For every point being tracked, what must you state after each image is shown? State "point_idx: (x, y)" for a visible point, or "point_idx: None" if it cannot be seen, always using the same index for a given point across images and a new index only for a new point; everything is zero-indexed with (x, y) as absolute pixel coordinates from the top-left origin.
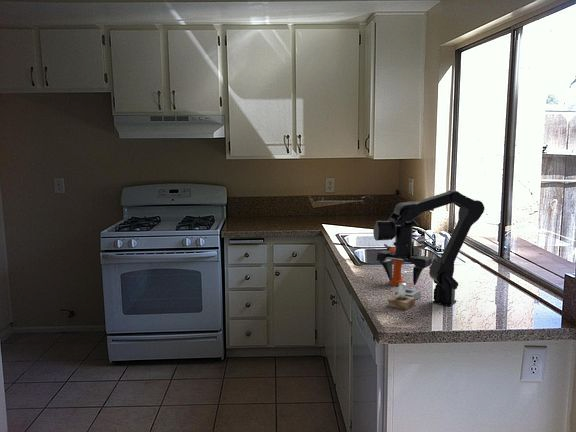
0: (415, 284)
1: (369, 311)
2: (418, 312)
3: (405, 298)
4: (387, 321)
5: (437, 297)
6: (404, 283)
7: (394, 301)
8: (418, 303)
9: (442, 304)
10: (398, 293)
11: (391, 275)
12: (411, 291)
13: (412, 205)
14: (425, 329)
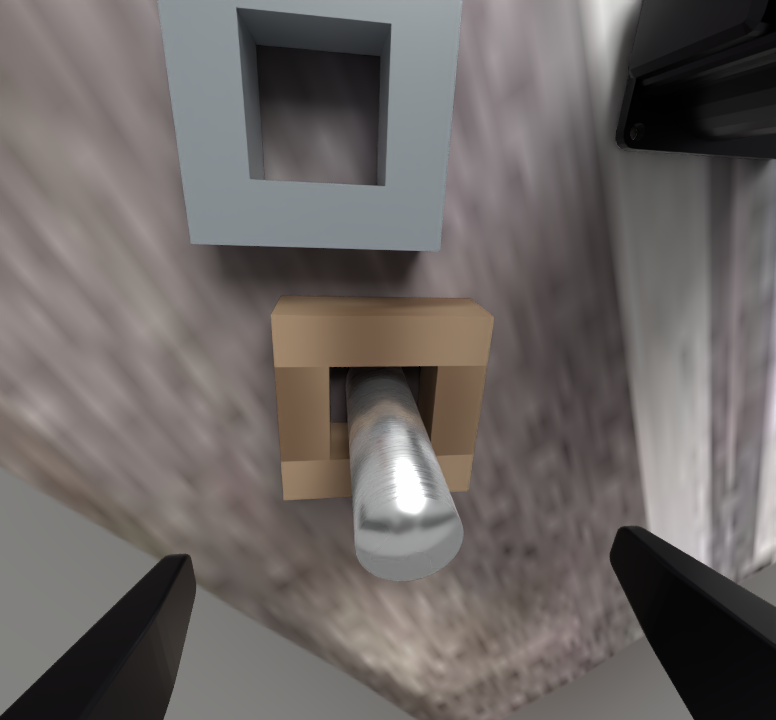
0: (631, 536)
1: (250, 611)
2: (544, 446)
3: (398, 360)
4: (426, 654)
5: (708, 103)
6: (437, 518)
7: (348, 488)
8: (487, 244)
9: (712, 155)
10: (249, 245)
11: (154, 668)
12: (343, 24)
13: None
14: (630, 623)
